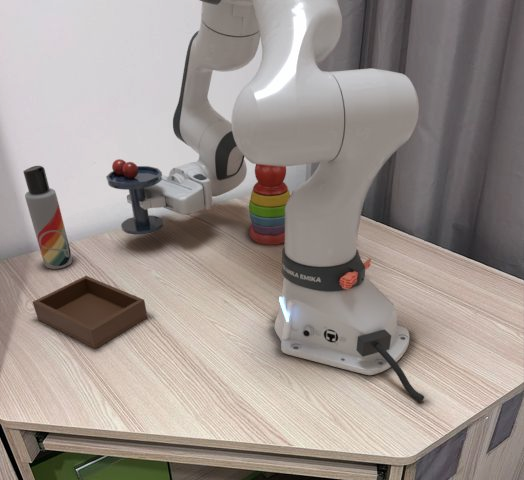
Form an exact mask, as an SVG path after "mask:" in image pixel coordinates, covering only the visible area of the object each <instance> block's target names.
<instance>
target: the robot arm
mask: <svg viewBox="0 0 524 480" xmlns="http://www.w3.org/2000/svg"><path fill="white" fill-rule="evenodd" d="M199 1H200V2H201V12H200V13H201V14H200V25H199V29H198V30H197V31H196V32H195V33H194V34H193V35H192V37H191V38H190V40H189V43H188V46H187V47H188V48H187V50H186V55H185V61H184V67H183V73H182V79H181V86H180V93H179V98H178V102H177V106H176V108H175V110H174V112H173V116H172V130H173V133H174V135H175V137H176V138H177V139H178V140H180V141H181V142H183V143H184V144H186V145H187V146H188V147H190V148H191V149H192V150H194V151H195V153H197V154H198V160H196V161H191V162H188V163H184V164H182V165H178V166H175V167H173V168H171V169H170V171H169V173H168V176H167V175H163V174H162V180H161V181H160V182H159V183H157V184H155V185H153V186H150V187H146V188H144V190H145V196H146V198H145V199H142V200H140V201H139V204H140V208H142V209H145V210H146V209H148V210H150V209H159V208H164V209H167V210H169V211H172V212H174V213H177V214H179V215H182V216H183V215H184V216H185V215H191V214H195V213H197V212H201V211H203V210H205V211H207V210H210V209H212V208H213V198H214V197H219V196H222V195H224V194H226V193H230V191H231V192H232V190H234V189H236V188H238V187H239V186H240V185H241V184H242V183H243V182H244V181H245V180H246V177H247V172H248V171H247V170H248V167H247V162H246V160H247V161H248V162H250V163H251V164H254V165H256V164H261V165H270V166H283V167H286V168H287V167H294V166H302V165H308V164H316V163H319V164H318V166H317V168H316V169H315V171H314V173H313V174H312V175H311V176H310V177H309V178H308V179H307V180H306V181H305V182H303V183H302V184H301V185H299V186H298V187H296V188H295V189H294V190H293V191H292V193H290V197H289V199H288V201H287V203H286V207H285V242H284V246H283V248H282V250H281V270H280V271H281V274H282V277H283V279H282V291H281V296H279V298H278V299H279V300H278V301H279V304H280V305H279V308H278V311H277V315H276V319H275V321H274V325H273V326H274V327H273V328H274V331H275V334H276V336H277V337H278V338H279V340H280V350H281V352H282V353H283V354H285V355H289V356H292V357H296V358H300V359H304V360H308V361H311V362H315V363H319V364H322V365H327V366H331V367H335V368H339V369H342V370H346V371H350V372H354V373H357V374H361V375H364V376H365V375H366V376H373V375H377V374H380V373H383V372H385V371H387V370H388V369H390V368H392V370H393V371H394V372H395V374H396V376H397V377H398V379H399V381H400V383H401V385H402V386H403V388H404V389H405V390H406V392H407V393H408V394H409V395H410V396H411V397H412V398H414V399H415V400H416V401H419V402H422V401H423V400H424V399H425V395H423V394H421V393H420V392H418V391H417V390H416V389H415V388H414V387H413V385H412V384H411V383H410V381H409V380H408V378H407V376H406V374H405V373H404V371H403V369H402V368H401V366H400V365H399V363H398V362H399V360H400V359H401V358H402V357H403V356H404V354H405V353H406V351H407V349H408V348H409V345H410V332H409V329H407V328H406V327H404V326H402V325H400V324H398V315H397V309H396V306H395V304H394V302H392V300H391V299H389V298H388V297H387V296H386V295H385V294H384V292H382V291H381V290H380V289H379V288H378V287H377V286H376V285H375V284H374V283H373V282H372V281H371V280H370V279H369V277H367V276H366V270H368V269H369V268H370V267H371V265H372V264H371V261H372V258H368V259H367V260H366V261H365V262H363V261H362V259H361V255H360V253H359V250H358V247H357V246H358V238H359V231H360V230H359V229H360V223H361V217H362V213H363V207H364V204H365V200H366V199H367V198H366V197H367V194H368V193H369V190H370V188H371V186H372V184H373V182H374V180H375V179H376V177H377V175H378V174H379V172H380V170H381V169H382V168H383V166H384V165H385V164H386V162H387V161H388V160H390V158H391V157H392V155H393V154H395V152H396V151H398V150H399V149H401V147H403V146H404V145H405V144H406V143H407V142H408V141H409V139H410V138H411V137H412V135H413V133H414V131H415V129H416V126H417V123H418V119H419V113H420V101H419V96H418V93H417V90H416V88H415V86H414V84H413V82H412V81H411V79H410V78H409V77H408V76H407V75H405V74H404V73H400V72H396V71H391V70H386V69H379V68H372V67H371V68H360V69H348V70H337V71H336V70H335V71H323V70H322V69H320V68H319V66H318V65H320V64H321V63H322V62H324V61H325V59H327V58H328V57H329V55H331V53H332V52H333V51H334V49H336V47H337V45H338V43H339V41H340V38H341V35H342V31H343V16H342V11H341V9H340V5H339V1H338V0H199ZM260 43H261V50H262V51H261V52H262V53H261V61H260V64H259V67H258V69H257V72H256V74H255V75H254V76H253V77H252V78H251V80H250V81H248V83H247V84H246V85H244V86H243V88H242V89H241V91H240V92H239V93H238V95H237V97H236V99H235V101H234V104H233V107H232V110H231V111H232V112H231V122H230V121H229V120H227V119H226V118H225V117H224V116H223V115H221V114H220V113H219V112H218V111H217V110H215V108H214V107H213V106H212V105H211V103H210V101H209V98H208V95H209V90H210V86H211V81H212V76H213V71H215V72H219V73H224V72H225V73H227V72H233V71H234V72H235V71H238V70H240V69H243V68H245V67H246V66H247V65H248V64H250V63H251V61H252V60H253V59H254V58H255V56H256V54H257V52H258V48H259V45H260ZM245 159H246V160H245ZM126 201H127V203H128V204H130V205H131V200H130V194H127V195H126Z"/></svg>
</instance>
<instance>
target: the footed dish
mask: <svg viewBox="0 0 524 480" xmlns="http://www.w3.org/2000/svg"><path fill="white" fill-rule="evenodd" d="M137 167H138V174H137V176H136V177H135V178H127V177H126V176H125V175H122V176H120V175H117V174H115V173H114V171H113V170H112V171H110V172H109V173H108V174H107V175H106V177H105V178H106V181H107V184H108V186H109V187H110V188H113V189H116V190H125V191H128V193H129V194H130V200H131V204H130V205H131V211H132V217H129V218H127V219H125V220H123V221H122V222H121V225H120V227H121V230H122V232H123V233H126V234H129V235H135V236H136V235H137V236H140V235H148V234H152V233H155V232H157V231H160V230H161V229H162V228H163V227H164V220H163V218H162V217H160V216H157V215H150V214H149V209H146V210H145V209H142V208H140V204H139V201H140V200H142V199H145V198H146V196H145V190H144V188H146V187H150V186H153V185H155V184H157V183H159V182H160V181H161V180H162V175H163V172H162V171H161V170H160V169H159V168H158V167H153V166H149V165H137ZM129 194H128V195H129Z"/></svg>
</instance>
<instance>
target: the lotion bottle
mask: <svg viewBox="0 0 524 480" xmlns="http://www.w3.org/2000/svg"><path fill="white" fill-rule="evenodd" d="M23 176H24V179H25V184H26V186H27V190H28V191H27V192H26V193H25V194H24V198H25V202H26V206H27V209H28V212H29V216H30V219H31V223H32V227H33V230H34V232H35V237H36V240H37V243H38V248H39V251H40V254H41V259H42V261H43V264H44V267H45V268H47V269H51V270H59V269H63V268H66V267H69V266H70V265H71V264H72V263H73V255H72V252H71V247H70V243H69V239H68V235H67V231H66V228H65V223H64V219H63V215H62V212H61V208H60V204H59V201H58V199H59V198H58V195H57V192H56V190H55V189H53V188H51V187H50V185H49V182H48V177H47V173H46V170H45V167H44V166H43V165H33V166H30V167H28V168H26V169H25V170H23Z"/></svg>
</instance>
